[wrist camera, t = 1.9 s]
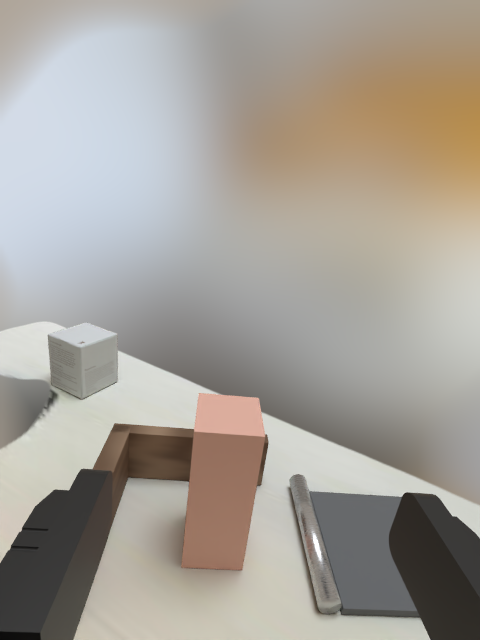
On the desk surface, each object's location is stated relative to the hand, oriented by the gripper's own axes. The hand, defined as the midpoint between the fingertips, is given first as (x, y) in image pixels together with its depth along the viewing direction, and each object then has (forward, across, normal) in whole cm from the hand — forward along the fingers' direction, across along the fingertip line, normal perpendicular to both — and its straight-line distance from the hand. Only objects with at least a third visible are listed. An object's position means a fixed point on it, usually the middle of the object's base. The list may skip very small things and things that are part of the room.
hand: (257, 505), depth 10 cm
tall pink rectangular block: (+13, 0, +18) cm, 22 cm away
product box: (+35, +18, +18) cm, 44 cm away
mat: (+13, -14, +18) cm, 26 cm away
